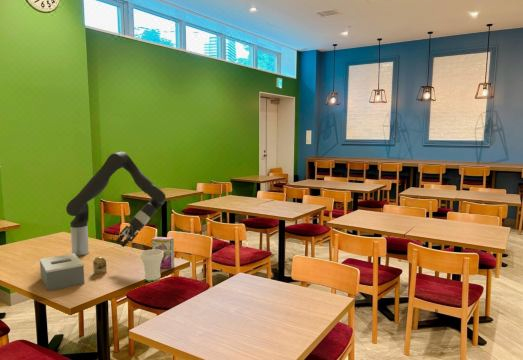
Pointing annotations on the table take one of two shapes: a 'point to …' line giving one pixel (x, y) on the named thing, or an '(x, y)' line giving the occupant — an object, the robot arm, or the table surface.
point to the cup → (152, 263)
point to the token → (99, 266)
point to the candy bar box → (165, 250)
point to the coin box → (61, 271)
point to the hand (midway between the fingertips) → (119, 244)
